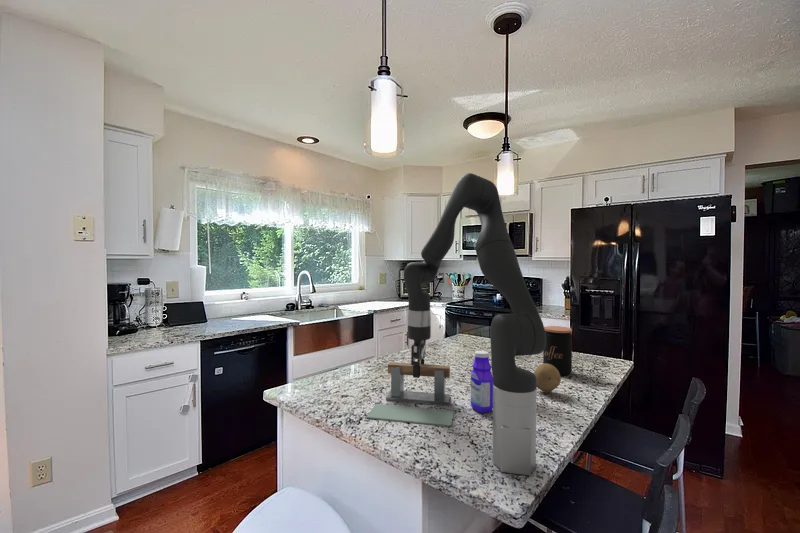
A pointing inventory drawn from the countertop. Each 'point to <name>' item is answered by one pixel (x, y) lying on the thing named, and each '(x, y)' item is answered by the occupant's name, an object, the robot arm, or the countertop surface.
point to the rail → (424, 369)
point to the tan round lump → (547, 377)
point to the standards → (418, 397)
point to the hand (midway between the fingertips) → (418, 373)
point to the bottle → (481, 383)
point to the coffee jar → (558, 349)
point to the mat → (411, 414)
